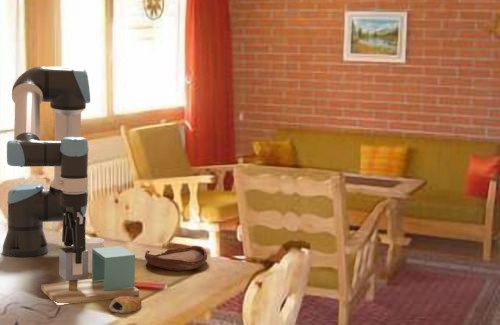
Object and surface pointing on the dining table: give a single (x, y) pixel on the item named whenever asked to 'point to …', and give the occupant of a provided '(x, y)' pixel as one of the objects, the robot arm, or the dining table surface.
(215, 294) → the dining table surface
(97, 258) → the housing cover
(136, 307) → the pastry
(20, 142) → the robot arm
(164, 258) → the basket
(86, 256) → the block
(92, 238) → the white cup
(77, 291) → the pin board
